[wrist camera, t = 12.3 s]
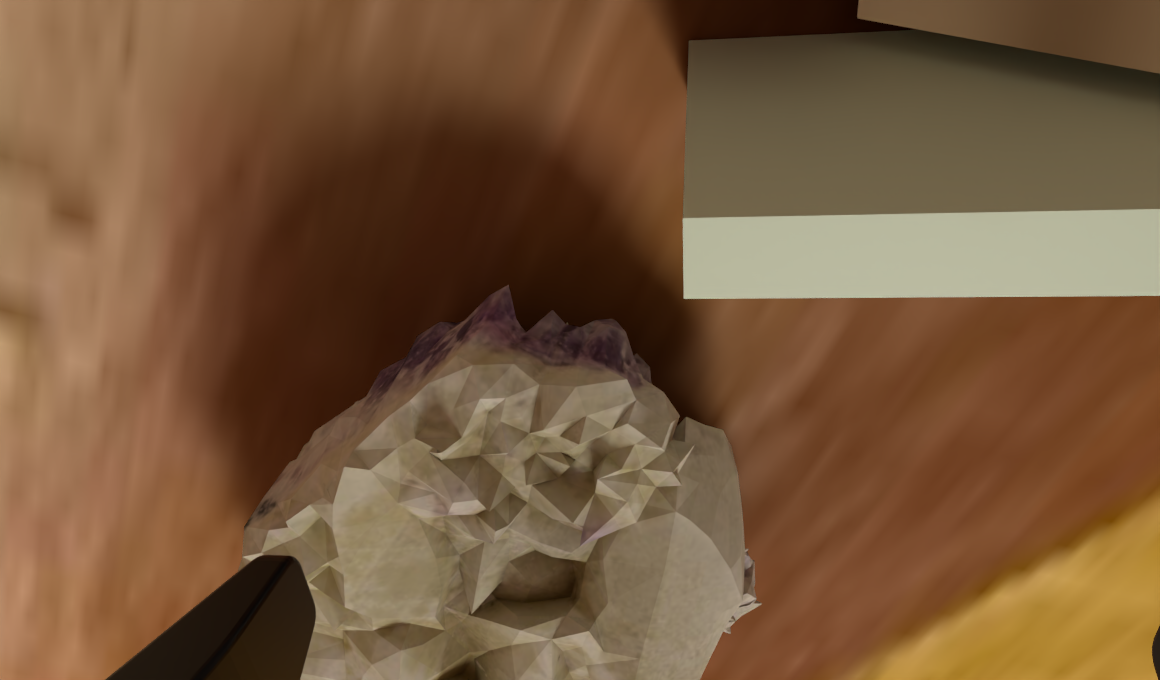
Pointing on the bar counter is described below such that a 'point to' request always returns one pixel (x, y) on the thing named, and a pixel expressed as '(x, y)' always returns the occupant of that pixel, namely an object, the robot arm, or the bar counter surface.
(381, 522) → the geode
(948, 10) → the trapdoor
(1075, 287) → the pale green open box
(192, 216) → the bar counter surface
